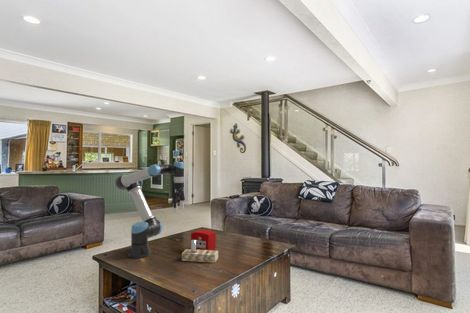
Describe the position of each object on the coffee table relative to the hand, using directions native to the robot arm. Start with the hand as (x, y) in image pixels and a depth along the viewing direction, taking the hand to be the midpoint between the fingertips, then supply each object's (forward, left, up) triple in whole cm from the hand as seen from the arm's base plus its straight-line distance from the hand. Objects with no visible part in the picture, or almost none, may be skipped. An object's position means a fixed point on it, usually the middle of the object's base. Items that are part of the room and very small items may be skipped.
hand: (178, 210), depth 208 cm
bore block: (+19, -7, -33) cm, 38 cm away
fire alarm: (+16, +12, -33) cm, 39 cm away
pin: (+14, -7, -32) cm, 35 cm away
